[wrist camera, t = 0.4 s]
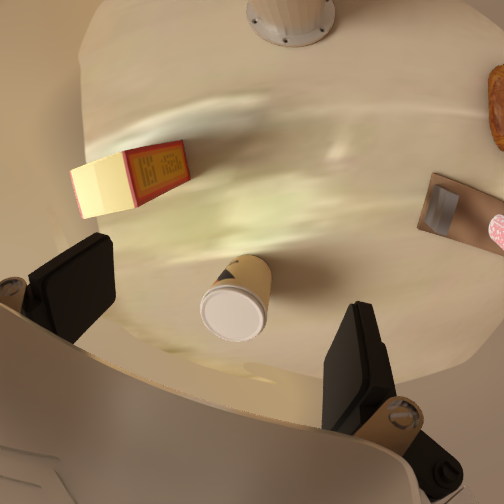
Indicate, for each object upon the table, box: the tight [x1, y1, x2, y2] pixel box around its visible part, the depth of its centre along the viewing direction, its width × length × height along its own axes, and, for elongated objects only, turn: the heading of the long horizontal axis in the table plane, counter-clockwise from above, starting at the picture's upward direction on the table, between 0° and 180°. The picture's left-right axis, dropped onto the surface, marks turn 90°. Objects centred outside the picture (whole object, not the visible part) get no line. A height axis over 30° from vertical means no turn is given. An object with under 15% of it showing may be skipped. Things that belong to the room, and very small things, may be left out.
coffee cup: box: [200, 255, 272, 342], centre depth 44 cm, size 9×9×12 cm
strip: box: [417, 173, 504, 256], centre depth 34 cm, size 9×22×6 cm, turn 82°
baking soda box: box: [70, 140, 191, 219], centre depth 37 cm, size 10×6×16 cm
